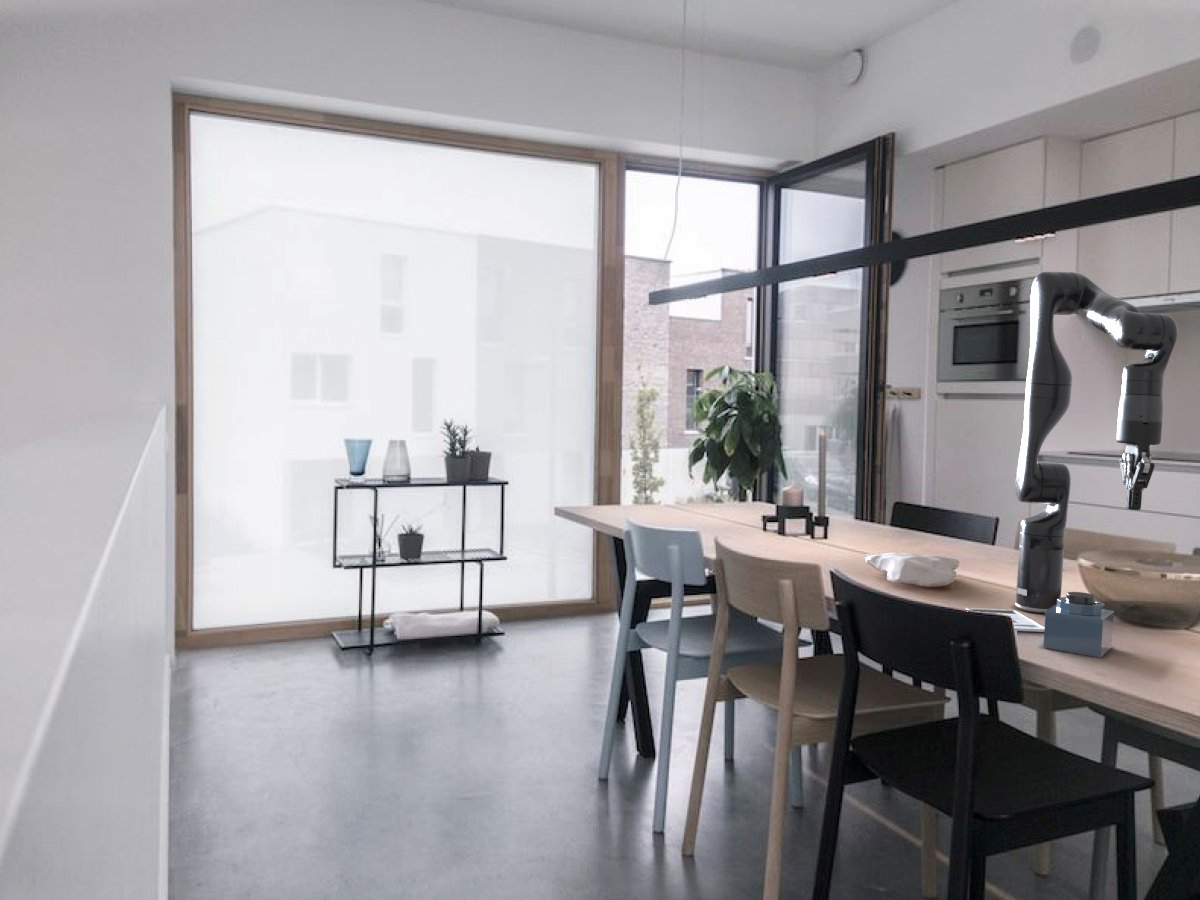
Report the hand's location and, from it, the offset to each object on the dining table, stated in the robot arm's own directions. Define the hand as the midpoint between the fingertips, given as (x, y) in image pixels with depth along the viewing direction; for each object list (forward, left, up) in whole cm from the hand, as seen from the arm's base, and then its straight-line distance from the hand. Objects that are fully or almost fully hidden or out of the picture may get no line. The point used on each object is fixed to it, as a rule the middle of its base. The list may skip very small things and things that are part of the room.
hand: (1133, 509), depth 190 cm
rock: (-40, -56, -27) cm, 74 cm away
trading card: (-7, -24, -27) cm, 37 cm away
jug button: (+6, -7, -18) cm, 21 cm away
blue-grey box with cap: (+6, -7, -27) cm, 28 cm away
